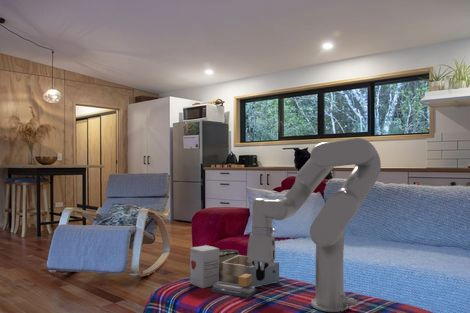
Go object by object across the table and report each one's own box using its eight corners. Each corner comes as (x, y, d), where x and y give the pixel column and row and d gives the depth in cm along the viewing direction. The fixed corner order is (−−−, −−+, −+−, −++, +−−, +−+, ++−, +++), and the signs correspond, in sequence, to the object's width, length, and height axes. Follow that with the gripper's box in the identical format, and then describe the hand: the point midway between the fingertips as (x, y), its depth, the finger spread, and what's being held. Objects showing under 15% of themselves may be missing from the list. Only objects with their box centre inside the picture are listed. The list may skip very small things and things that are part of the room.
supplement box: (189, 283, 162) (189, 247, 163) (206, 279, 168) (206, 244, 169) (202, 288, 156) (202, 251, 156) (219, 284, 162) (219, 248, 162)
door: (280, 282, 164) (280, 262, 164) (248, 289, 154) (248, 267, 155) (277, 281, 165) (277, 261, 166) (245, 287, 156) (245, 266, 157)
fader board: (256, 291, 152) (256, 285, 152) (248, 297, 145) (248, 291, 145) (220, 286, 159) (220, 280, 159) (210, 291, 152) (210, 285, 152)
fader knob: (251, 288, 152) (251, 274, 152) (246, 292, 147) (246, 277, 147) (244, 287, 153) (244, 273, 153) (238, 290, 148) (238, 276, 148)
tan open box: (260, 278, 170) (260, 257, 171) (244, 288, 156) (244, 265, 156) (237, 275, 175) (237, 255, 176) (220, 284, 161) (220, 262, 161)
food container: (230, 269, 185) (230, 248, 186) (239, 272, 180) (239, 250, 181) (209, 274, 177) (209, 251, 178) (217, 276, 173) (217, 254, 173)
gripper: (283, 231, 147) (282, 280, 147) (247, 227, 154) (246, 274, 154) (276, 234, 141) (275, 285, 140) (239, 230, 148) (238, 279, 147)
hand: (260, 279), depth 147 cm, fingers closed
